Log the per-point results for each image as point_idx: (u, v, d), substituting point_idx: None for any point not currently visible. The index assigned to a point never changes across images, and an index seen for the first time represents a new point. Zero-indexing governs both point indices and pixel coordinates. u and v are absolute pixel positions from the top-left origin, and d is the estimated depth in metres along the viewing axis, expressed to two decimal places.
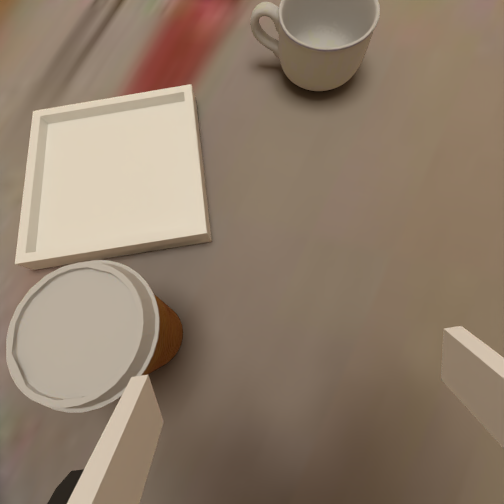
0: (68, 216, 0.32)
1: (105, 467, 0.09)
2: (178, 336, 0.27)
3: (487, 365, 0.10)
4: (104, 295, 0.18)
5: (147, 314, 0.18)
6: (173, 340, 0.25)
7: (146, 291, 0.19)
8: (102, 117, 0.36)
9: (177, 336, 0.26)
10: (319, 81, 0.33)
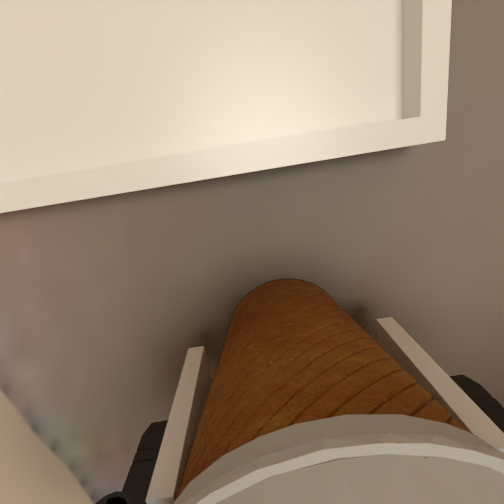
0: (26, 64, 0.11)
1: (187, 415, 0.10)
2: None
3: (401, 349, 0.12)
4: None
5: None
6: None
7: None
8: None
9: None
10: None
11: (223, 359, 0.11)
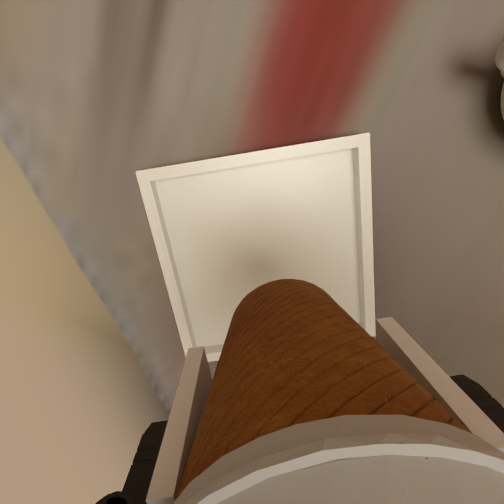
0: (220, 308, 0.30)
1: (187, 415, 0.10)
2: None
3: (401, 349, 0.12)
4: None
5: None
6: None
7: None
8: (233, 172, 0.26)
9: None
10: None
11: (223, 359, 0.11)
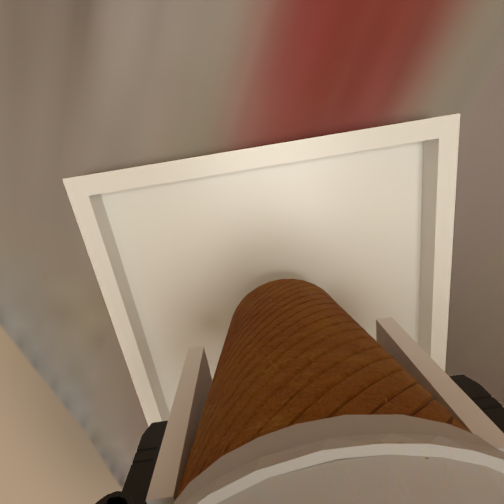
0: None
1: (187, 415, 0.10)
2: None
3: (401, 349, 0.12)
4: None
5: None
6: None
7: None
8: (228, 181, 0.16)
9: None
10: None
11: (223, 359, 0.11)
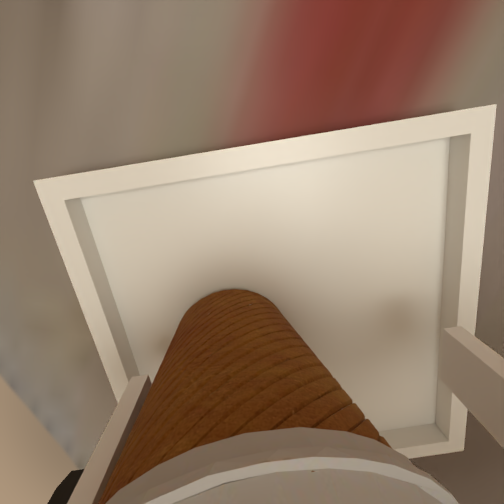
0: None
1: (105, 467, 0.09)
2: None
3: (487, 365, 0.10)
4: None
5: None
6: None
7: None
8: (226, 182, 0.14)
9: None
10: None
11: (155, 378, 0.11)
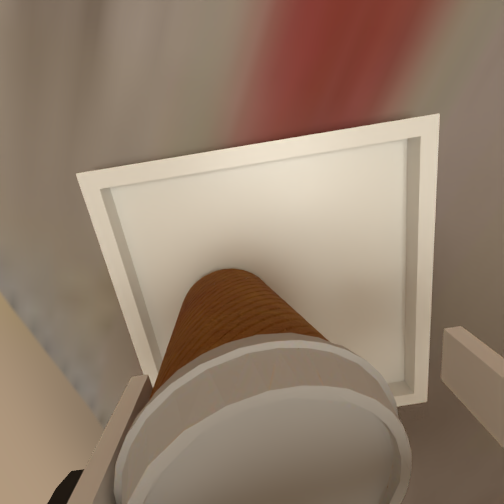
0: None
1: (105, 467, 0.09)
2: None
3: (487, 365, 0.10)
4: (325, 434, 0.08)
5: None
6: None
7: (385, 394, 0.09)
8: (227, 175, 0.17)
9: None
10: None
11: (176, 329, 0.14)
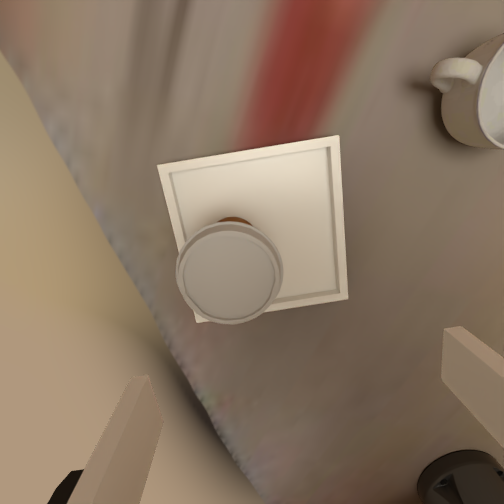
0: None
1: (105, 467, 0.09)
2: None
3: (487, 365, 0.10)
4: (245, 255, 0.24)
5: (279, 268, 0.25)
6: None
7: (273, 249, 0.25)
8: (233, 166, 0.33)
9: None
10: (479, 147, 0.31)
11: None
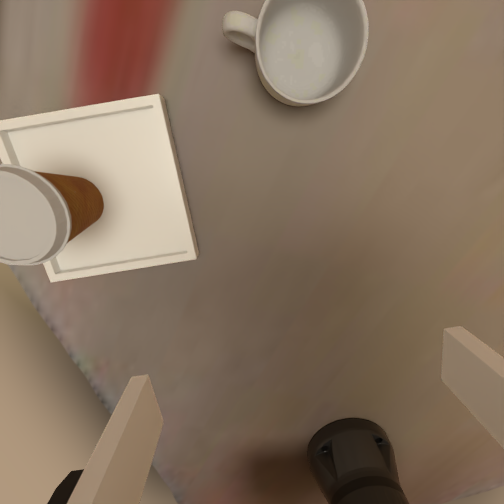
0: None
1: (105, 467, 0.09)
2: (98, 205, 0.35)
3: (487, 365, 0.10)
4: (19, 195, 0.25)
5: (56, 210, 0.26)
6: (92, 211, 0.33)
7: (52, 191, 0.26)
8: (66, 126, 0.34)
9: (96, 206, 0.35)
10: None
11: None
